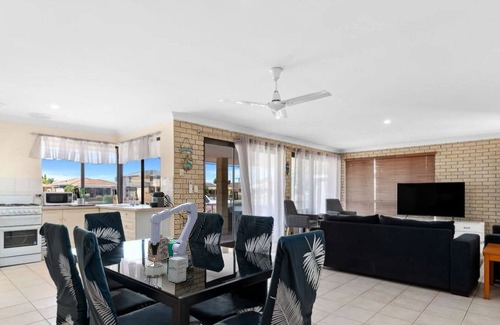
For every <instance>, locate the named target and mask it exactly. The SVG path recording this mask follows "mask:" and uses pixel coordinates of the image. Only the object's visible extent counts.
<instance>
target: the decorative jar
mask: <svg viewBox="0 0 500 325" xmlns="http://www.w3.org/2000/svg"><path fill="white" fill-rule="evenodd" d="M149 240H151V238H150V239H149ZM149 240H148V242H147V243H148V244H147V260H149V261H152V258H158V262H160V261H161V260H162V261H165V260H164V259H166V260H168V259H167V258H168V257H169V253H168V244H169V242H170V243H171V241H170V239H169V238H168V237H167V236H163V234H160V241H159V243H160V244H159V246H158V250H157V254H156V255H153V252H152V247H151V245H150V244H151V243H152V242H150V241H149ZM169 258H170V257H169Z"/></svg>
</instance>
